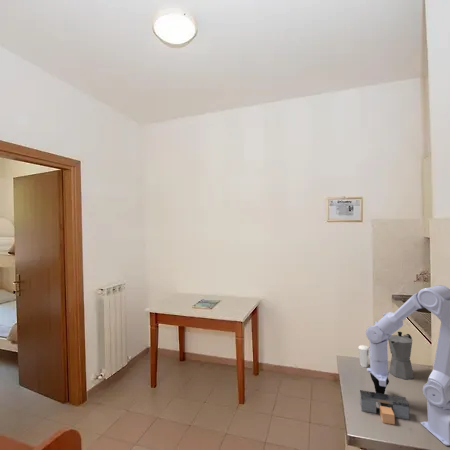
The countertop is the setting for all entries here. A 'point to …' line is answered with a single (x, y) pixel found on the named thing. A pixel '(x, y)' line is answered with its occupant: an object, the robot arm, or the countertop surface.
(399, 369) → the coffeepot
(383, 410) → the plug
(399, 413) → the grey bridge block
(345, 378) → the countertop surface
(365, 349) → the milkshake
